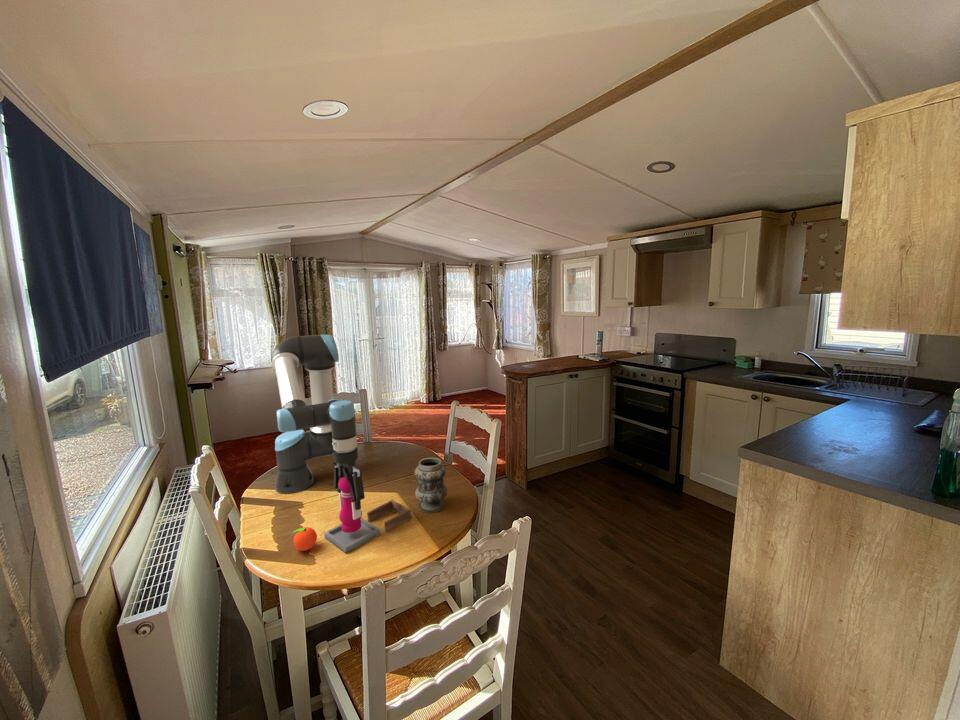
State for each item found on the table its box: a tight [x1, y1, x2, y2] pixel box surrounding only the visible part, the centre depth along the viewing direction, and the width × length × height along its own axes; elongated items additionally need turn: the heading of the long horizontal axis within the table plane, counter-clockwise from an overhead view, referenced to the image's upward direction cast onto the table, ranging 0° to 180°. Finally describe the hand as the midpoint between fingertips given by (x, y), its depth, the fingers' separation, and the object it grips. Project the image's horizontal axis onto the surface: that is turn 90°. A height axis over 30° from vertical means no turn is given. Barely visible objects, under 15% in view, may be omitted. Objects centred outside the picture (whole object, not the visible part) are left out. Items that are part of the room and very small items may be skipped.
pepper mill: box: [339, 476, 363, 533], centre depth 132 cm, size 7×7×20 cm
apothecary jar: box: [414, 457, 448, 514], centre depth 151 cm, size 12×12×18 cm
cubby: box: [366, 499, 412, 533], centre depth 144 cm, size 11×11×4 cm
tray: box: [323, 517, 381, 554], centre depth 134 cm, size 13×13×2 cm
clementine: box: [291, 526, 318, 552], centre depth 128 cm, size 8×7×7 cm
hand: (350, 513), depth 133 cm, fingers closed on pepper mill, 7 cm apart
